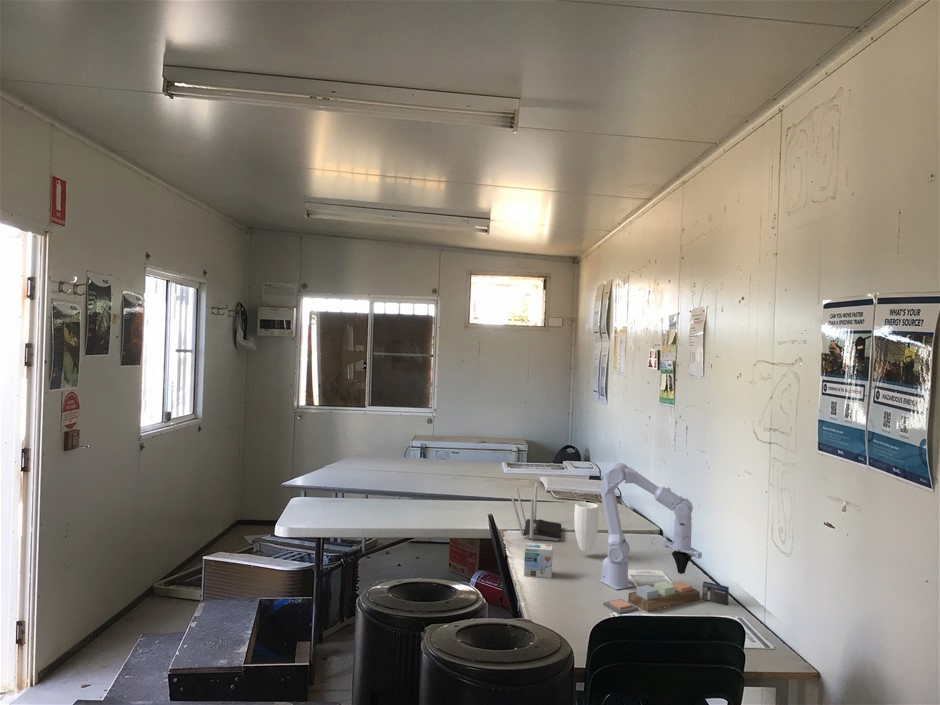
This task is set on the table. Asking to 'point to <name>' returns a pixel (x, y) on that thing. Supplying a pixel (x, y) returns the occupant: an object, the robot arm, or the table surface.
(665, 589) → the block sage
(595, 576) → the table surface
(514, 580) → the table surface
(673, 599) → the wooden block tray
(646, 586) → the block slate
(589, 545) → the cup
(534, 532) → the wireless router
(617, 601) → the tile
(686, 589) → the block terracotta
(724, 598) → the mini dv tape
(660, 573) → the photo frame
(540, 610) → the table surface
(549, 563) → the light bulb box
